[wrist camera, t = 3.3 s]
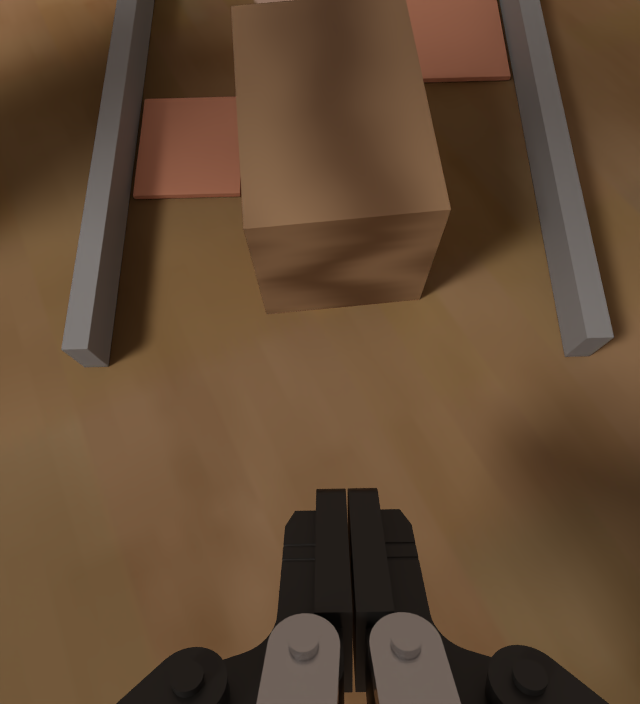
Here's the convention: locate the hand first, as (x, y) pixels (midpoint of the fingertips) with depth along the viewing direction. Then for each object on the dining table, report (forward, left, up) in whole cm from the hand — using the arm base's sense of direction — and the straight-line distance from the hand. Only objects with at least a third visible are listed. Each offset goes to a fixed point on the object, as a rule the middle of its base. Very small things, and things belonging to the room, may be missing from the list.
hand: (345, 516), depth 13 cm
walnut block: (0, +17, -12) cm, 21 cm away
